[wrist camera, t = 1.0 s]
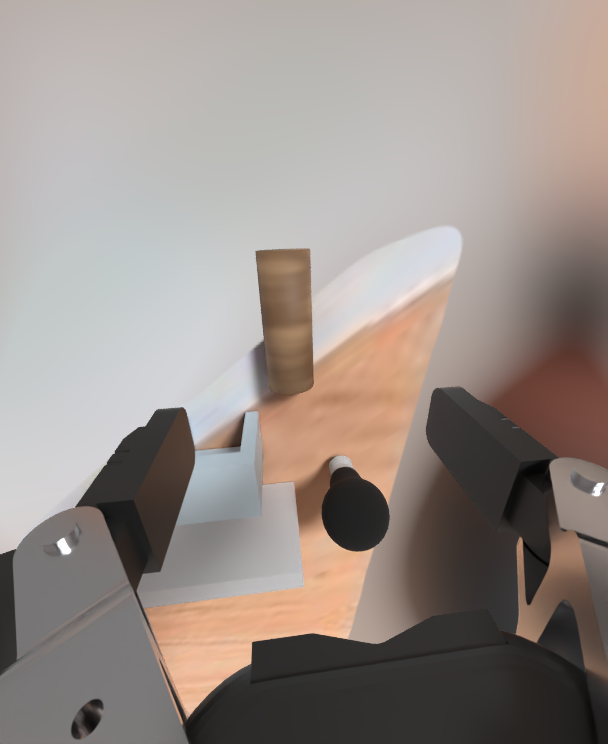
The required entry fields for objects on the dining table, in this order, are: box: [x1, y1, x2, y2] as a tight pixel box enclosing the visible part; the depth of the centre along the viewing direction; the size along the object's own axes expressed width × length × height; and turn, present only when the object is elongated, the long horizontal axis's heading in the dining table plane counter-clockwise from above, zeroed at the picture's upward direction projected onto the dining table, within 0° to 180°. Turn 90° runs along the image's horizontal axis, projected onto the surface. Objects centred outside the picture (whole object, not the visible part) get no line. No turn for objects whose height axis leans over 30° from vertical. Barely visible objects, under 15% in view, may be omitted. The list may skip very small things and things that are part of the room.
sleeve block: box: [175, 411, 263, 526], centre depth 27 cm, size 6×8×8 cm
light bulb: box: [322, 456, 390, 551], centre depth 28 cm, size 6×6×10 cm
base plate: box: [137, 482, 304, 608], centre depth 29 cm, size 2×14×10 cm, turn 92°
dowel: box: [256, 249, 314, 395], centre depth 24 cm, size 11×4×4 cm, turn 2°
